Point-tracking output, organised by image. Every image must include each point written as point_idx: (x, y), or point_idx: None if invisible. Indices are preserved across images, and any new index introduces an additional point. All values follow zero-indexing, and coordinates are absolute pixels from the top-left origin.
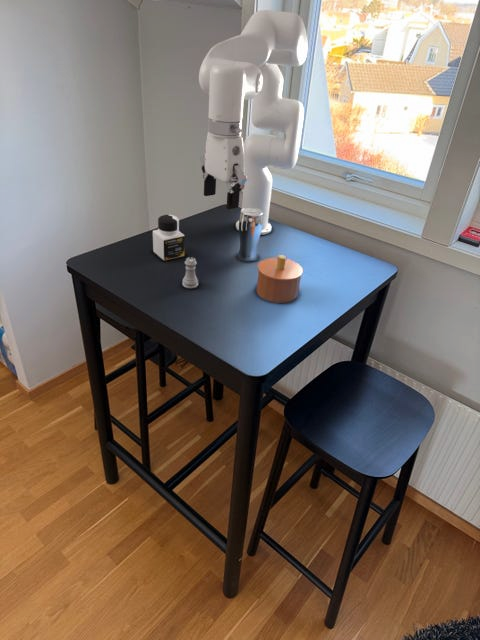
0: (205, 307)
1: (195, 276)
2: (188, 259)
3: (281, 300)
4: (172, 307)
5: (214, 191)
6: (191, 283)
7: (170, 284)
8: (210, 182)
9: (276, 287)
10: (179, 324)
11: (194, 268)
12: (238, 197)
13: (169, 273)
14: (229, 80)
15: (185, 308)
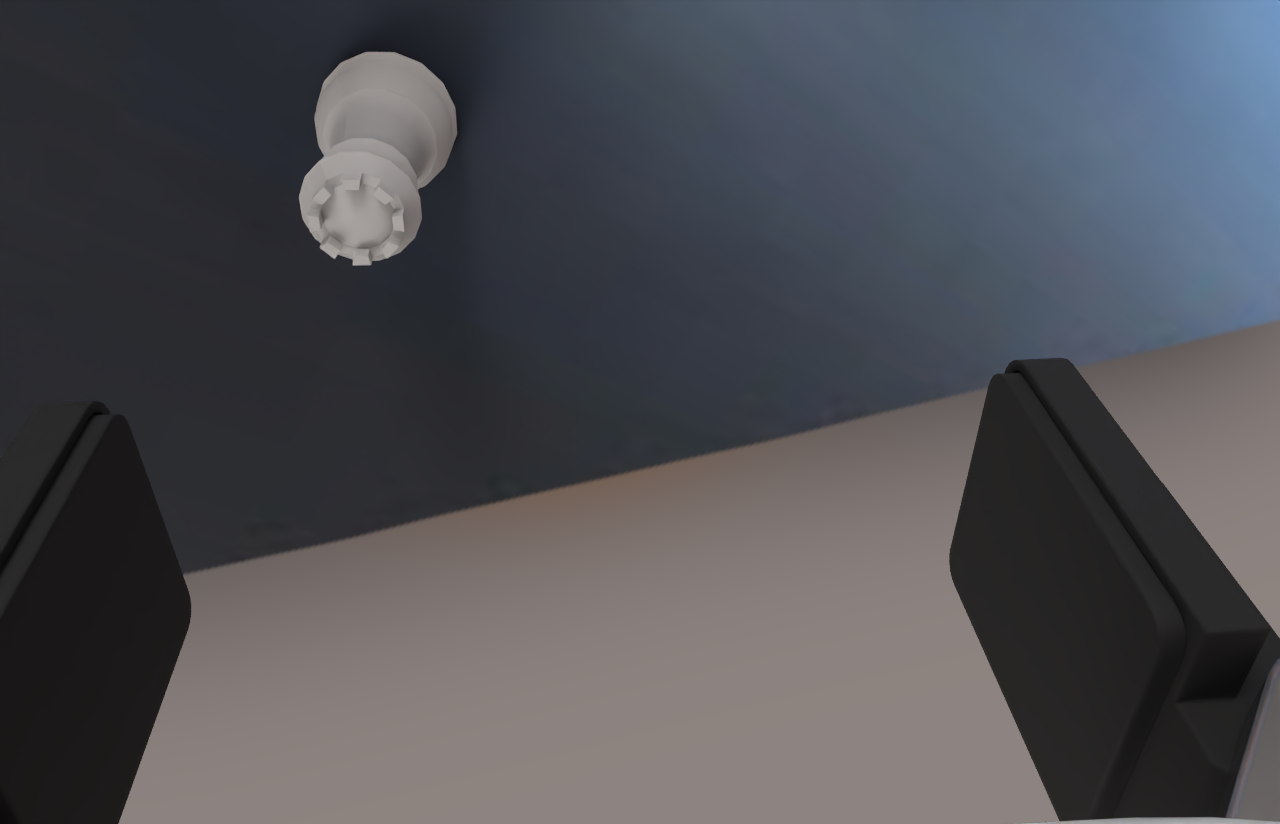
0: (731, 174)
1: (409, 119)
2: (328, 225)
3: None
4: (613, 355)
5: (107, 482)
6: (445, 157)
7: None
8: (49, 787)
9: None
10: (796, 395)
11: (407, 169)
12: (1162, 517)
13: (132, 169)
14: None
15: (667, 294)
